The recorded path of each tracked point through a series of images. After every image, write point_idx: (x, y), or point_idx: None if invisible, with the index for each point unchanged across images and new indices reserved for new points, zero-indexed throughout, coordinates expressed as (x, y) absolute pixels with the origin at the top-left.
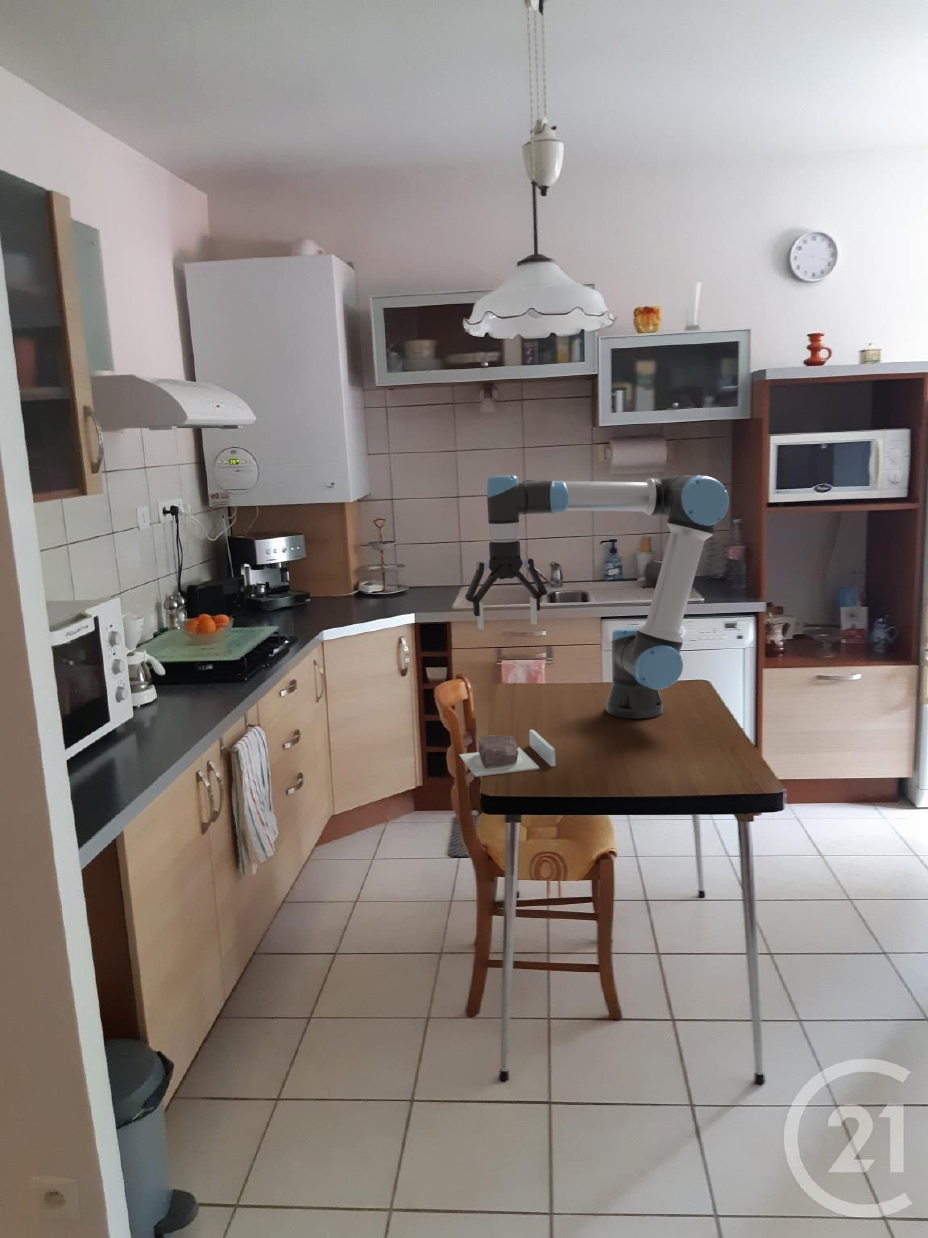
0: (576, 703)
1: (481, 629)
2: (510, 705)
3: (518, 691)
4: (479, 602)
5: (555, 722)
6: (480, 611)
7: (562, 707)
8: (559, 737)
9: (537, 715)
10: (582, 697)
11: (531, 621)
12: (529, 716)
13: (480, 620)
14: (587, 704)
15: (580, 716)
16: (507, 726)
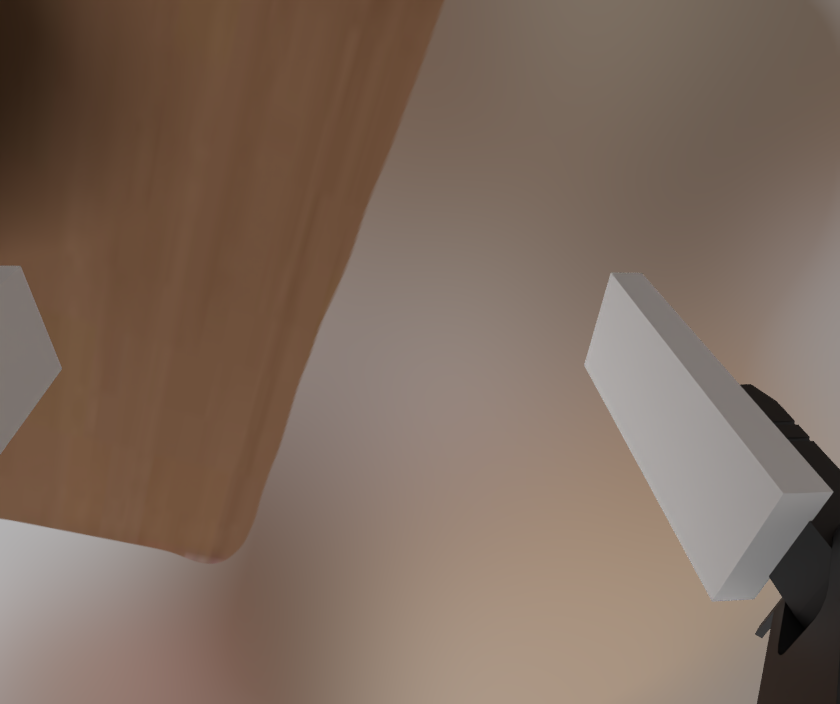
0: None
1: (638, 274)
2: (265, 413)
3: (215, 509)
4: (759, 563)
5: (147, 204)
6: (748, 401)
7: (99, 348)
8: (159, 3)
9: (200, 300)
10: None
11: (42, 361)
12: (229, 299)
13: (689, 329)
14: None
15: (40, 237)
16: (329, 225)
